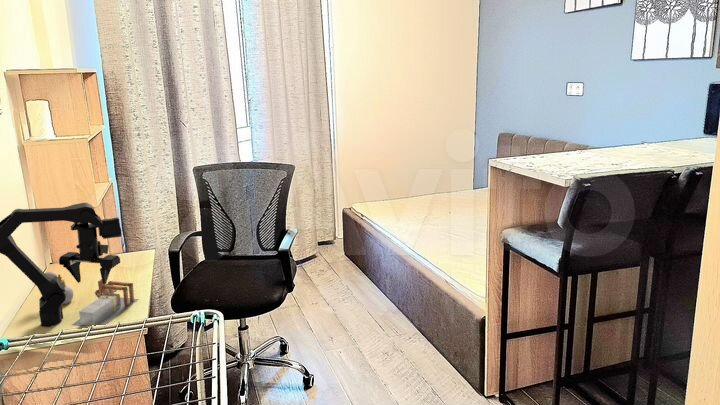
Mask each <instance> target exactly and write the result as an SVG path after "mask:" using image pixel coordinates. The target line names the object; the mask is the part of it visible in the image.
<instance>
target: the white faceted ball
mask: <svg viewBox="0 0 720 405" xmlns="http://www.w3.org/2000/svg"><path fill="white" fill-rule="evenodd" d="M44 273H45V274H46V275H47V276H48V277H50V278H52V279H53V278H54V277H55V276H57V277H58V279H59V280H60V281H61V282H62V283H64V286H65V294H66V299H65V301H64V302H63V303H62V304H61V306H64V305H67V304H69V303H70V302H71V301H72V300H73V298H74V290H73V288H71V287H70V286H69V285H67V284H66V282H65V279H62V278H63V277H62V276H61V274H60V273H58V274H56V273H55V272H54V271H46V272H44Z"/></svg>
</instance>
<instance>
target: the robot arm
mask: <svg viewBox="0 0 720 405" xmlns="http://www.w3.org/2000/svg"><path fill="white" fill-rule="evenodd" d="M62 221H63V222H70V223H73V224H71V225H70V230H71V231H76V232H77V241H78V242H77V243H78V244H77V245H76V246H75V248H76V249H78V251H79V252H75V251H67V252H66V253H64V254H62V255H61V256H60V257H59V258H58V265H60V266H62V267H63V268H65V269H66V270H67V271H68V272H69V273H70V274H71V275H72V277H73V279H74V280H75V281H76V282H77V283H78V284H80V283H82V282H81V279H82V278H81V267H80V265H81V263H88V264H89V263H90V264H99V266H100V268H99V272H100V277H101V278H100V279H102V282H103V285H105V284H107V283H108V278H109V275H110V272H111V270H112V269H113V268H114V267H116V266H117V265H119V264H120V263H121V257H120V256H119V255H118V254H116V255H115V254H109V253H108V252H109V244H101V240H98V236H99V237H101V238H102V239H103V240H106V239H112V238H113V239H115V238H122V228H121V222H120V218H119V217H112V218H105V219H102V218H101V217H100V216H99V215H98V214H97V213H96V211H95V207H94V206H93V205H92V204H90V203H88V202H81V203H75V204H72V205H68V206H64V207H45V208H43V207H42V208H25V209H23V208H16V209H13V211H11V213H9V215H7V216H6V217H4V218H3V219H1V221H0V254H1V255H4V256H5V257H7V259H8V260H9V261H11V263H13V265H15V266H16V268H18V270H20V271H21V272H22V273H23V275H24V276H26V277H27V278H28V279H29V280H30V281H31V282H32V283H33V285H35V286H36V287H37V289H38V290H39V292H40V294H41V296H40V298H39V299H38V300H39V302H38V303H39V304H38V305H39V307H38V308H39V309H38V310H39V311H38V312H39V320H40V325H41V326H40V327H44V328H45V327H46V328H51V327H53V326H57V325H59V324H61V323H62V321H63V319H64V314H63V307H62V305H61V304H62V303H63V302H64V301H65V299H66V294H65V286H64V283H62V282H61V281H60V280H59V279H58V277H57V276H58V275H57V276H55V277H54V278H53V279H52V278H50V277H48V276H47V275H46V274H45V273H46V272H44V271H43V270H42V269H41V268H40V267H39V266H38V265H37V264H36V263H35V262H34V261H33V260H32V259H31V258H30V256H28V255H27V254H26V253H25V252H24V251H23V250H22V249H21V248H20V247H19V246H18V245H17V243H16V242H15V239H14V237H13V236H12V234H13V233H14V232H15V231H16V230H17V229H18V227H20V226H21V225H22V224H25V223H26V224H27V223H45V222H62ZM97 229H98V231H97ZM97 232H98V233H97ZM105 254H106V255H105ZM103 255H105V256H104V257H102V256H103Z"/></svg>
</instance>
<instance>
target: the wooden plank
mask: <svg viewBox="0 0 720 405" xmlns="http://www.w3.org/2000/svg"><path fill="white" fill-rule="evenodd" d="M102 286H103V282H102V278H100V279H99V280H98V281H97V287H98V290H99V296H100V297H101V296H103V290H102Z"/></svg>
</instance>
